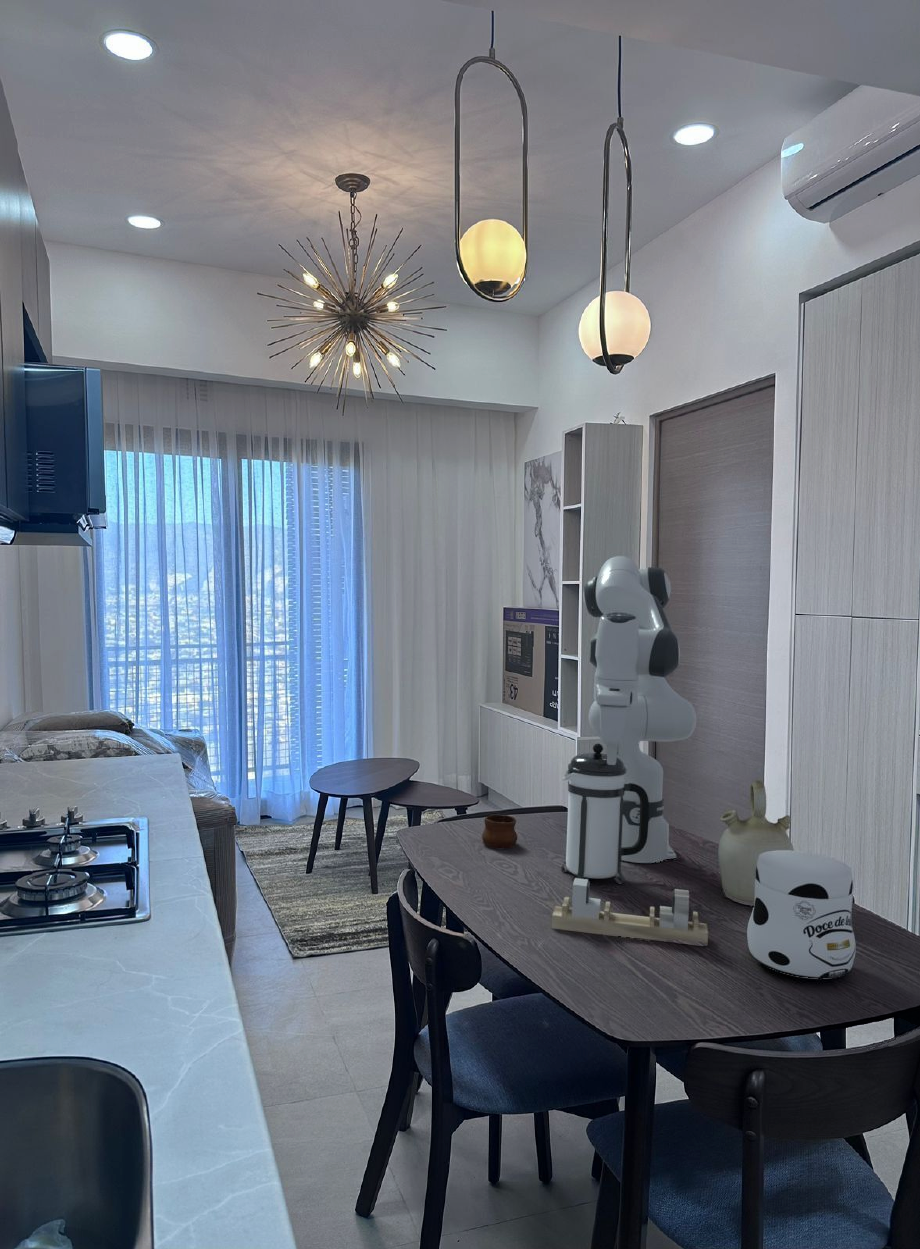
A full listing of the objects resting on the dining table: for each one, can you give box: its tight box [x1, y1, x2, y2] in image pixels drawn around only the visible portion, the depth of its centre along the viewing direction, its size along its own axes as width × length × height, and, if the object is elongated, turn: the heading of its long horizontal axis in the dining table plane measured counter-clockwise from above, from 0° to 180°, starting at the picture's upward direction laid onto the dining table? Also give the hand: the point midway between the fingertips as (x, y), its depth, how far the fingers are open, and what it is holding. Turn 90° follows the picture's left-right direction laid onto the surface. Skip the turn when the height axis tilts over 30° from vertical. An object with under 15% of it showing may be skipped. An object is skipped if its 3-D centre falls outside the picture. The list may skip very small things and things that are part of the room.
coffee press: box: [560, 743, 649, 885], centre depth 193 cm, size 17×16×30 cm
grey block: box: [571, 877, 602, 920], centre depth 163 cm, size 4×5×6 cm
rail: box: [551, 888, 709, 944], centre depth 161 cm, size 5×28×8 cm, turn 77°
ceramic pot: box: [481, 813, 518, 850], centre depth 216 cm, size 18×18×7 cm
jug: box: [717, 780, 795, 902], centre depth 183 cm, size 15×16×25 cm
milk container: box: [746, 850, 857, 979], centre depth 149 cm, size 17×17×18 cm
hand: (612, 760), depth 177 cm, fingers open, 8 cm apart
